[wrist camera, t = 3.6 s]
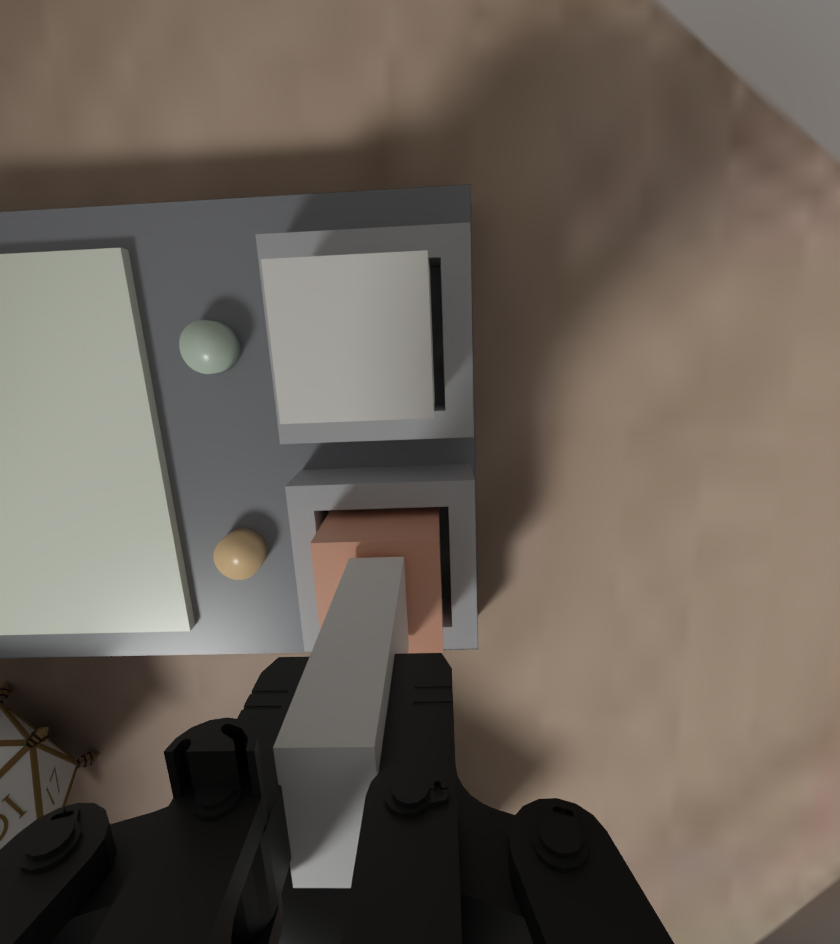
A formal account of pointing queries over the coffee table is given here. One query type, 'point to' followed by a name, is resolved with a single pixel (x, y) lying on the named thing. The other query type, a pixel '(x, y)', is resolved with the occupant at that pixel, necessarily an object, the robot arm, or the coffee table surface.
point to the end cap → (313, 914)
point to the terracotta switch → (386, 537)
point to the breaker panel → (206, 424)
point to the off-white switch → (351, 336)
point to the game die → (30, 772)
